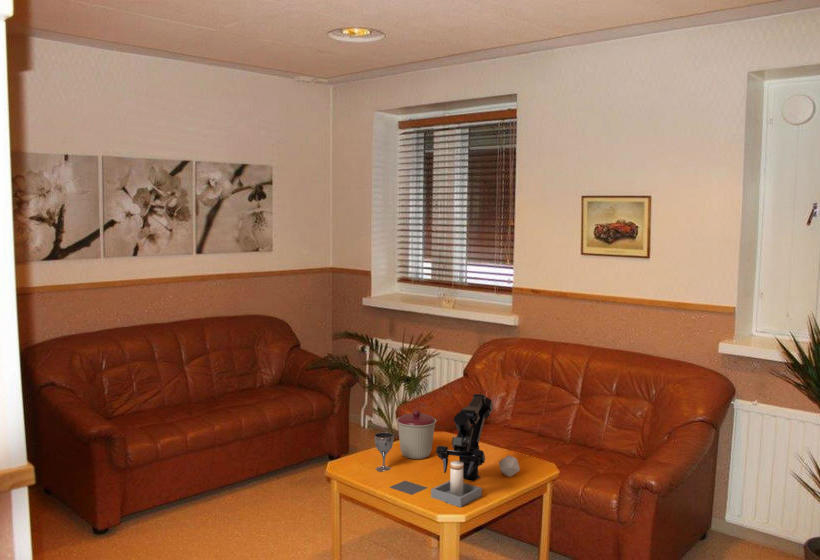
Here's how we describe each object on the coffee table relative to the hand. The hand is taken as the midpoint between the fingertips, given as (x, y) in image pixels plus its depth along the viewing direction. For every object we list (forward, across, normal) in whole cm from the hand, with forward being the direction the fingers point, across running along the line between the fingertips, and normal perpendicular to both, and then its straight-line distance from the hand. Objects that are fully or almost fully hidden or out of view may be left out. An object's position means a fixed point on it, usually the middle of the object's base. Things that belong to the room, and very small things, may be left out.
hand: (456, 474), depth 282 cm
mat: (+4, -20, +9) cm, 23 cm away
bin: (+6, 0, +7) cm, 10 cm away
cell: (+6, 0, +7) cm, 9 cm away
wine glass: (-8, -37, +21) cm, 44 cm away
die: (-16, +14, +30) cm, 37 cm away
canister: (-23, -30, +37) cm, 53 cm away
